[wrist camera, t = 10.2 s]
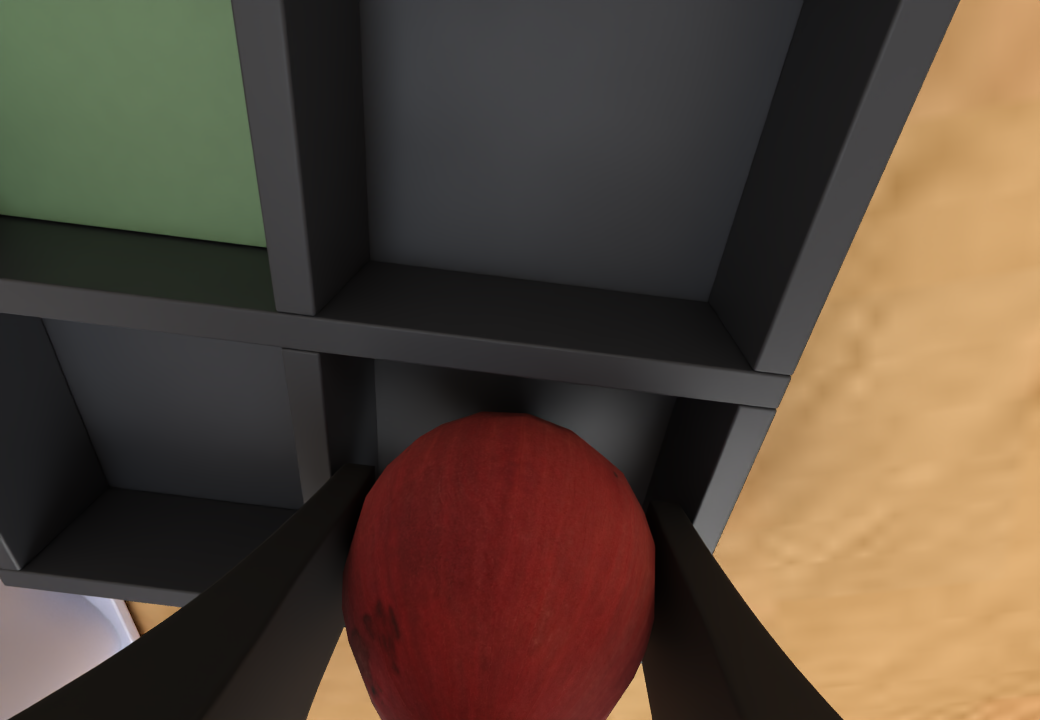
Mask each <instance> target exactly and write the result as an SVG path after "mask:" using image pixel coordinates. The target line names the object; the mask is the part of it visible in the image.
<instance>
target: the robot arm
mask: <svg viewBox="0 0 1040 720" xmlns="http://www.w3.org/2000/svg"><path fill="white" fill-rule="evenodd" d="M375 482H376V480H375V466H369V465H361V464H353V463H346V464H344V465H343V466H342V467H341V468H340V469H339V470H338V471H337V472H336V473H335V474H334V475H333V476H332V477H331V478H330V479H329V480H328V481H327V482H326V483H325V484H324V485H323V486H322V487H321V488H320V489H319V490H318V491H317V492H316V493H315V494H314V495H313V496H312V497H311V498H310V499H309V500H308V501H307V502H306V503H305V504H304V505H303V506H302V507H301V508H300V509H299V510H297V511H296V512H295V513H294V514H293V515H292V516H291V517H290V518H289V519H288V520H287V521H286V522H285V523H283V524H282V525H281V526H280V527H279V528H278V529H277V530H276V531H275V532H274V533H273V534H272V535H271V536H269V537H268V538H267V539H266V540H265V541H264V542H263V543H262V544H260V545H259V546H258V547H257V548H256V549H255V550H253V551H252V552H251V553H250V554H249V555H247V556H246V557H245V558H244V559H243V560H242V561H240V562H239V563H238V564H237V565H236V566H234V567H233V568H232V569H231V570H230V571H229V572H227V573H226V574H225V575H224V576H222V577H221V578H220V579H219V580H217V581H216V582H215V583H214V584H212V585H211V586H210V587H209V588H207V589H206V590H205V591H203V592H202V593H201V594H200V595H198V596H197V597H196V598H194V599H193V600H192V601H190V602H189V603H188V604H186V605H185V606H183V607H182V608H181V609H179V610H178V611H177V612H175V613H174V614H173V615H171V616H170V617H168V618H167V619H166V620H164V621H163V622H161V623H160V624H158V625H157V626H156V627H154V628H153V629H151V630H150V631H148V632H147V633H145V634H144V635H142V636H141V637H140V635H139V633H138V631H137V628H136V626H135V624H134V622H133V620H132V617H131V615H130V613H129V611H128V609H127V606H126V604H125V602H124V600H118V599H110V598H101V597H93V596H85V595H77V594H69V593H60V592H52V591H44V590H36V589H27V588H19V587H11V586H5V585H4V584H3V582H2V581H1V579H0V720H306V719H307V716H308V713H309V710H310V707H311V705H312V702H313V699H314V697H315V694H316V692H317V689H318V686H319V684H320V682H321V679H322V677H323V675H324V672H325V670H326V667H327V665H328V663H329V660H330V658H331V656H332V653H333V651H334V649H335V646H336V644H337V642H338V639H339V637H340V635H341V632H342V630H343V628H344V625H345V621H344V616H343V611H342V587H343V571H344V567H345V564H346V560H347V556H348V553H349V549H350V545H351V542H352V539H353V535H354V532H355V529H356V525H357V522H358V519H359V516H360V513H361V510H362V507H363V504H364V501H365V498H366V496H367V494H368V493H369V491H370V490H371V488H372V487H373V485H374V484H375ZM645 516H646V519H647V522H648V525H649V528H650V531H651V534H652V537H653V540H654V543H655V605H654V622H653V626H652V630H651V634H650V638H649V642H648V646H647V649H646V652H645V654H644V657H643V659H642V666H643V671H644V676H645V682H646V687H647V693H648V698H649V704H650V709H651V714H652V720H843V719H842V718H841V717H840V716H839V714H838V713H837V712H836V711H835V710H834V709H833V708H832V707H831V706H830V705H829V704H828V703H827V702H826V700H825V699H824V698H823V697H822V696H821V695H820V694H819V692H818V691H817V690H816V689H815V688H814V687H813V686H812V685H811V683H810V682H809V681H808V680H807V679H806V678H805V677H804V675H803V674H802V673H801V672H800V671H799V670H798V669H797V667H796V666H795V665H794V664H793V663H792V661H791V660H790V659H789V658H788V657H787V655H786V654H785V653H784V652H783V650H782V649H781V648H780V647H779V645H778V644H777V643H776V642H775V640H774V639H773V638H772V637H771V635H770V634H769V633H768V631H767V630H766V629H765V628H764V626H763V625H762V624H761V622H760V621H759V620H758V619H757V617H756V616H755V614H754V613H753V612H752V610H751V609H750V608H749V606H748V605H747V604H746V602H745V601H744V600H743V598H742V597H741V595H740V594H739V593H738V591H737V590H736V588H735V587H734V586H733V584H732V583H731V581H730V580H729V579H728V577H727V576H726V574H725V573H724V571H723V570H722V568H721V567H720V566H719V564H718V563H717V561H716V560H715V558H714V557H713V555H712V554H711V552H710V551H709V549H708V548H707V546H706V545H705V543H704V542H703V540H702V538H701V537H700V535H699V534H698V532H697V531H696V529H695V528H694V526H693V525H692V523H691V522H690V520H689V518H688V517H687V515H686V514H685V512H684V511H683V509H682V508H681V506H680V505H679V504H677V503H669V502H661V501H653V500H650V502H649V505H648V508H647V512H646V515H645Z"/></svg>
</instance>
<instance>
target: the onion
mask: <svg viewBox="0 0 1040 720" xmlns="http://www.w3.org/2000/svg"><path fill="white" fill-rule="evenodd" d="M654 605H655V543H654V540H653V537H652V534H651V531H650V528H649V525H648V522H647V519H646V516H645V513H644V511H643V509H642V507H641V505H640V503H639V502H638V500H637V498H636V496H635V494H634V492H633V490H632V489H631V487H630V485H629V483H628V481H627V479H626V477H625V476H624V474H623V473H622V472H621V471H620V470H619V469H618V468H617V467H615V466H614V465H613V464H612V463H611V462H610V461H609V460H607V459H606V458H605V457H604V456H603V455H602V454H600V453H599V452H598V451H597V450H595V449H594V448H593V447H592V446H590V445H589V444H588V443H587V442H586V441H584V440H583V439H582V438H581V437H579V436H578V435H577V434H575V433H574V432H573V431H572V430H570V429H567V428H564V427H562V426H559V425H557V424H554V423H552V422H549V421H546V420H544V419H541V418H539V417H536V416H533V415H531V414H528V413H506V412H479V413H476V414H473V415H469V416H466V417H463V418H460V419H457V420H453V421H450V422H447V423H444V424H441V425H440V426H438V427H436V428H434V429H433V430H431V431H429V432H427V433H426V434H424V435H422V436H420V437H419V438H418V439H417V440H416V441H414V442H413V443H412V444H411V445H410V446H409V447H408V448H407V449H405V450H404V451H403V452H402V453H401V454H400V455H399V456H398V457H396V458H395V459H394V460H393V461H392V462H391V463H390V464H389V465H387V466H386V468H385V469H384V471H383V472H382V474H381V475H380V477H379V478H378V480H377V481H376V482H375V484H374V485H373V487H372V488H371V490H370V491H369V493H368V494H367V496H366V498H365V501H364V504H363V507H362V510H361V513H360V516H359V519H358V522H357V525H356V529H355V532H354V535H353V539H352V542H351V545H350V549H349V553H348V556H347V560H346V564H345V567H344V571H343V587H342V611H343V616H344V621H345V626H346V631H347V636H348V641H349V644H350V647H351V649H352V652H353V655H354V657H355V660H356V662H357V665H358V668H359V670H360V673H361V676H362V678H363V681H364V683H365V686H366V689H367V691H368V694H369V696H370V699H371V702H372V704H373V706H374V707H375V709H376V711H377V713H378V714H379V716H380V718H381V720H606V719H607V717H608V716H609V714H610V713H611V711H612V710H613V708H614V707H615V705H616V704H617V702H618V701H619V699H620V698H621V696H622V695H623V693H624V692H625V690H626V689H627V687H628V686H629V684H630V683H631V681H632V680H633V678H634V676H635V674H636V672H637V670H638V668H639V665H640V663H641V661H642V659H643V657H644V654H645V652H646V649H647V646H648V642H649V638H650V634H651V630H652V626H653V622H654Z"/></svg>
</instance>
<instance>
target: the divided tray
mask: <svg viewBox="0 0 1040 720" xmlns="http://www.w3.org/2000/svg"><path fill="white" fill-rule="evenodd" d="M959 2H960V0H0V579H1V581H2V582H3V584H4V585H5V586H11V587H19V588H27V589H36V590H44V591H52V592H60V593H69V594H77V595H85V596H93V597H101V598H110V599H118V600H126V601H134V602H142V603H151V604H159V605H167V606H175V607H183V606H185V605H186V604H188V603H189V602H190V601H192V600H193V599H194V598H196V597H197V596H198V595H200V594H201V593H202V592H203V591H205V590H206V589H207V588H209V587H210V586H211V585H212V584H214V583H215V582H216V581H217V580H219V579H220V578H221V577H222V576H224V575H225V574H226V573H227V572H229V571H230V570H231V569H232V568H233V567H234V566H236V565H237V564H238V563H239V562H240V561H242V560H243V559H244V558H245V557H246V556H247V555H249V554H250V553H251V552H252V551H253V550H255V549H256V548H257V547H258V546H259V545H260V544H262V543H263V542H264V541H265V540H266V539H267V538H268V537H269V536H271V535H272V534H273V533H274V532H275V531H276V530H277V529H278V528H279V527H280V526H281V525H282V524H283V523H285V522H286V521H287V520H288V519H289V518H290V517H291V516H292V515H293V514H294V513H295V512H296V511H297V510H299V509H300V508H301V507H302V506H303V505H304V504H305V503H306V502H307V501H308V500H309V499H310V498H311V497H312V496H313V495H314V494H315V493H316V492H317V491H318V490H319V489H320V488H321V487H322V486H323V485H324V484H325V483H326V482H327V481H328V480H329V479H330V478H331V477H332V476H333V475H334V474H335V473H336V472H337V471H338V470H339V469H340V468H341V467H342V466H343V465H344V464H346V463H353V464H361V465H369V466H375V480H376V481H377V480H378V478H379V477H380V475H381V474H382V472H383V471H384V469H385V468H386V466H387V465H389V464H390V463H391V462H392V461H393V460H394V459H395V458H396V457H398V456H399V455H400V454H401V453H402V452H403V451H404V450H405V449H407V448H408V447H409V446H410V445H411V444H412V443H413V442H414V441H416V440H417V439H418V438H419V437H420V436H422V435H424V434H426V433H427V432H429V431H431V430H433V429H434V428H436V427H438V426H440V425H441V424H444V423H447V422H450V421H453V420H457V419H460V418H463V417H466V416H469V415H473V414H476V413H479V412H506V413H528V414H531V415H533V416H536V417H539V418H541V419H544V420H546V421H549V422H552V423H554V424H557V425H559V426H562V427H564V428H567V429H570V430H572V431H573V432H574V433H575V434H577V435H578V436H579V437H581V438H582V439H583V440H584V441H586V442H587V443H588V444H589V445H590V446H592V447H593V448H594V449H595V450H597V451H598V452H599V453H600V454H602V455H603V456H604V457H605V458H606V459H607V460H609V461H610V462H611V463H612V464H613V465H614V466H615V467H617V468H618V469H619V470H620V471H621V472H622V473H623V474H624V476H625V477H626V479H627V481H628V483H629V485H630V487H631V489H632V490H633V492H634V494H635V496H636V498H637V500H638V502H639V503H640V505H641V507H642V509H643V511H644V513H645V515H646V512H647V508H648V505H649V502H650V500H653V501H661V502H669V503H677V504H679V505H680V506H681V508H682V509H683V511H684V512H685V514H686V515H687V517H688V518H689V520H690V522H691V523H692V525H693V526H694V528H695V529H696V531H697V532H698V534H699V535H700V537H701V538H702V540H703V542H704V543H705V545H706V546H707V548H708V549H709V551H710V552H711V554H712V555H713V552H714V550H715V548H716V546H717V543H718V541H719V539H720V537H721V534H722V532H723V530H724V528H725V526H726V523H727V521H728V519H729V517H730V514H731V512H732V510H733V508H734V505H735V503H736V501H737V499H738V496H739V494H740V492H741V490H742V488H743V485H744V483H745V481H746V479H747V476H748V474H749V472H750V470H751V467H752V465H753V463H754V461H755V458H756V456H757V454H758V452H759V450H760V447H761V445H762V443H763V441H764V438H765V436H766V434H767V432H768V429H769V427H770V425H771V423H772V420H773V418H774V416H775V414H776V408H778V407H779V405H780V402H781V400H782V398H783V396H784V393H785V391H786V389H787V387H788V384H789V382H790V380H791V376H790V375H792V374H793V373H794V371H795V368H796V366H797V364H798V362H799V360H800V357H801V355H802V353H803V351H804V348H805V346H806V344H807V342H808V339H809V337H810V335H811V333H812V330H813V328H814V326H815V324H816V321H817V319H818V317H819V315H820V313H821V310H822V308H823V306H824V304H825V301H826V299H827V297H828V295H829V292H830V290H831V288H832V286H833V283H834V281H835V279H836V277H837V275H838V272H839V270H840V268H841V266H842V263H843V261H844V259H845V257H846V254H847V252H848V250H849V248H850V245H851V243H852V241H853V239H854V236H855V234H856V232H857V230H858V228H859V225H860V223H861V221H862V219H863V216H864V214H865V212H866V210H867V207H868V205H869V203H870V201H871V198H872V196H873V194H874V192H875V189H876V187H877V185H878V183H879V181H880V178H881V176H882V174H883V172H884V169H885V167H886V165H887V163H888V160H889V158H890V156H891V154H892V151H893V149H894V147H895V145H896V143H897V140H898V138H899V136H900V134H901V131H902V129H903V127H904V125H905V122H906V120H907V118H908V116H909V113H910V111H911V109H912V107H913V104H914V102H915V100H916V98H917V96H918V93H919V91H920V89H921V87H922V84H923V82H924V80H925V78H926V75H927V73H928V71H929V69H930V66H931V64H932V62H933V60H934V57H935V55H936V53H937V51H938V49H939V46H940V44H941V42H942V40H943V37H944V35H945V33H946V31H947V28H948V26H949V24H950V22H951V19H952V17H953V15H954V13H955V10H956V8H957V6H958V4H959ZM344 627H346V626H345V625H344ZM641 663H642V661H641Z"/></svg>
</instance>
